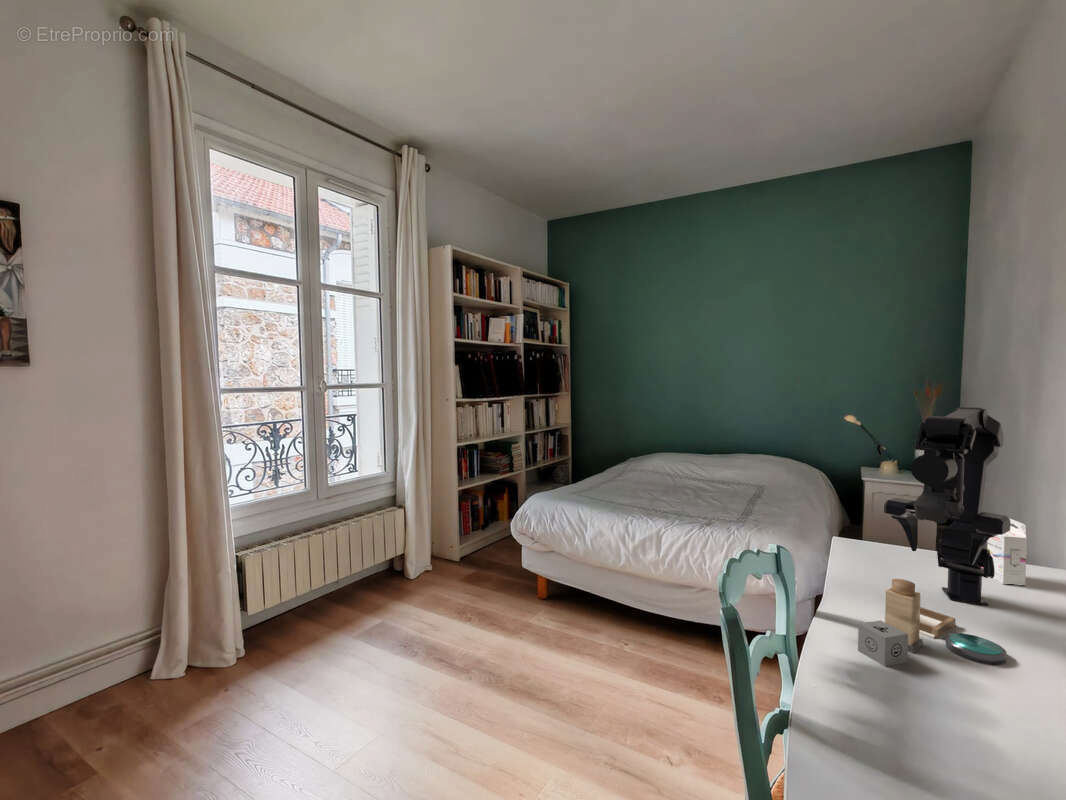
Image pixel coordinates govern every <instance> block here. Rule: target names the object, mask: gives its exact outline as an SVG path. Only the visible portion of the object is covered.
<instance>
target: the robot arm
mask: <svg viewBox="0 0 1066 800" xmlns="http://www.w3.org/2000/svg"><path fill="white" fill-rule="evenodd" d="M1003 445H1004V432H1003V428H1002V423H1000V422H999V421H998V420H996V419H995V418H993V417H992V416H990V415H989V414H988V410H987V409H986V408H983V407H972V406H969V407H968V406H960V407H955V410H954V411H953V412H951V413H949V414H947V415H945V416H935V415H934V416H933V415H931V416H930V415H928V416H926V417H925V419H924V421H922V422H921V424H920V427H919V430H918V434H917V438H916V441H915V445H914V450H917V451H923V454H921V455H919V456H917V457H915V459H913V461H912V463H911V465H910V472H911V474H912V476H913V477H914V479H915V480H916V481H918V482H919V483H921V484H923V491H922V493H921V494H920V495H919V496H918V497H917V498H916V499H906V498H902V497H901V498H900V497H894V498H890V499H887V500H886V501H885V502H884V505H883V514H884V513H885V514H887V515H891V516H890V517H891V518H892V519H893V520H896V521H897V522H898V523H899V524H900V525H901V527H902V529H903V532H905V533H904V534H905V535H906V538H907V541H908V543H909V546H910V548H911V551H912V552H916V551H917V549H918V537H919V536H918V533H919V527H918V526H919V525H918V524H919V522H918V521H920V520H921V521H924V520H925V521H930V522H934V523H936V524H945V523H947V522H948V521H950V522H951V521H952V523H951V524H950V525H949V526H948V527H944V529H943V530H942V532H941V534H942V535H941V538H940V539H939V540H938V542H937V546H936V554H937V556H936V557H937V565H938V567H939V568H944V569H947V587H945V586H942V587H941V590H942V592H943V593H944V594H945V595H946V596H947V598H948V599H949V600H951V601H958V602H964V603H970V604H976V605H984V606H988V605H989V603H988V601H987V600H986V599H985V598H984V597H983V596H982V588H983V587H982V585H983V578H984V579H988V578H990V577H994V573H995V568H994V561H993V557H992V556H991V554H990V550H988V549H987V545H988V543H987V541H988V539H989V538H990V537H995V536H997V535H1003V534H1004V533H1006V532H1008V531H1010V526H1011V524H1010V523H1011V522H1010V519H1011V518H1009V517H1008V515H1005V514H998V513H992V512H985V511H983V502H984V492H985V487H986V486H985V485H986V476H987V468H988V466H989V465H990V464H991V462H993V461H994V460H995V459H996V458H997V457H998V456H999V451H1000V448H1002V447H1003ZM981 567H983V568H981Z"/></svg>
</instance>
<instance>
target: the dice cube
mask: <svg viewBox="0 0 1066 800" xmlns="http://www.w3.org/2000/svg"><path fill="white" fill-rule="evenodd" d="M857 632H858V634H857V635H858V636H857V637H858V638H857V640H858V642H857V652H858V653H861V654H863V655H864V656H866V657H868V658H869V659H871V660H872V661H875V662H876V663H878V664H880V665H881V666H883V667H888V666H889V667H890V666H894V665H899V664H905V663H908V654H909V653H908V634H907V633H905V632H903V631H901V630H899V629H897V628H895V627H893V626H891V625H889V624H887V623H885V621H883V620H880V619H879V620H874V621H869V622H861V623H858V630H857Z"/></svg>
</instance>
